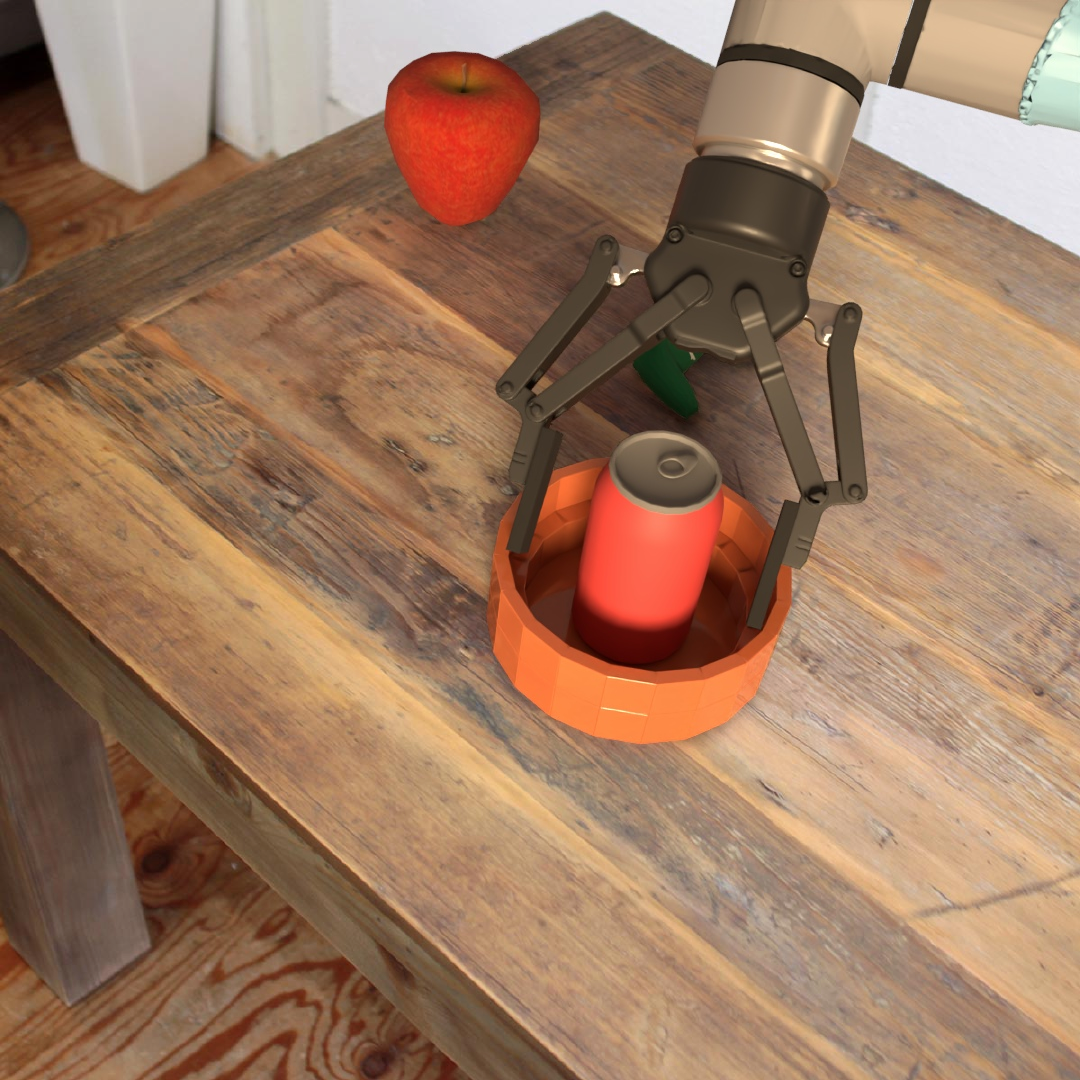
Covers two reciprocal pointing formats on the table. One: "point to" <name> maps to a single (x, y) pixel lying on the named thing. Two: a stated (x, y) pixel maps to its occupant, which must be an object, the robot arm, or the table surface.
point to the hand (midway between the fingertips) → (633, 588)
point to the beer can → (647, 546)
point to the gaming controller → (669, 376)
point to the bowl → (616, 687)
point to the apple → (460, 132)
